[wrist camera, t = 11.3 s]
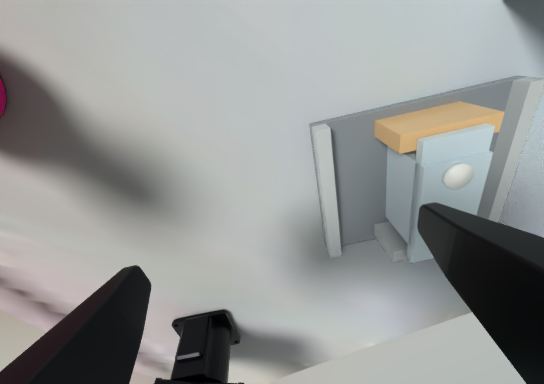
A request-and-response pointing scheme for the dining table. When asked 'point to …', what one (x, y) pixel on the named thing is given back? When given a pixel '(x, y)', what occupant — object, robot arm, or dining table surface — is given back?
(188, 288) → the dining table surface
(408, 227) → the light blue knobbed block
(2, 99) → the pepper mill
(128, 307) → the robot arm
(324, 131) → the mounting plate
